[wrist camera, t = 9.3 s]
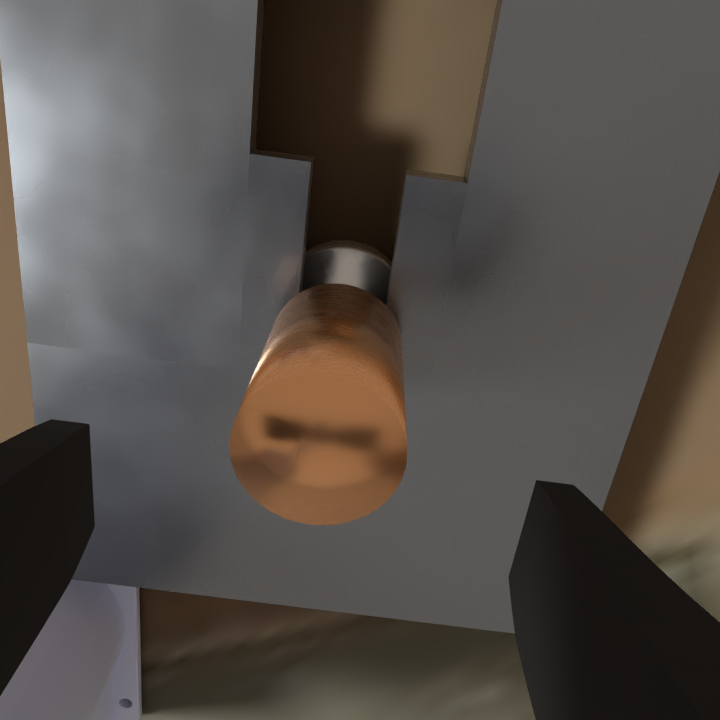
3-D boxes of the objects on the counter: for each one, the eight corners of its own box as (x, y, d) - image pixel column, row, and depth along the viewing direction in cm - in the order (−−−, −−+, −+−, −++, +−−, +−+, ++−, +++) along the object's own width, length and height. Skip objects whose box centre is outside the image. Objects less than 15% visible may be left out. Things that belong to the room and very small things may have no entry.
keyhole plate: (541, 581, 23) (557, 638, 21) (82, 524, 23) (49, 576, 21) (833, -342, 13) (925, -421, 11) (19, -466, 13) (-60, -574, 11)
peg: (394, 367, 20) (398, 546, 13) (275, 346, 20) (211, 517, 13) (418, 251, 19) (438, 382, 11) (289, 229, 18) (226, 347, 11)
